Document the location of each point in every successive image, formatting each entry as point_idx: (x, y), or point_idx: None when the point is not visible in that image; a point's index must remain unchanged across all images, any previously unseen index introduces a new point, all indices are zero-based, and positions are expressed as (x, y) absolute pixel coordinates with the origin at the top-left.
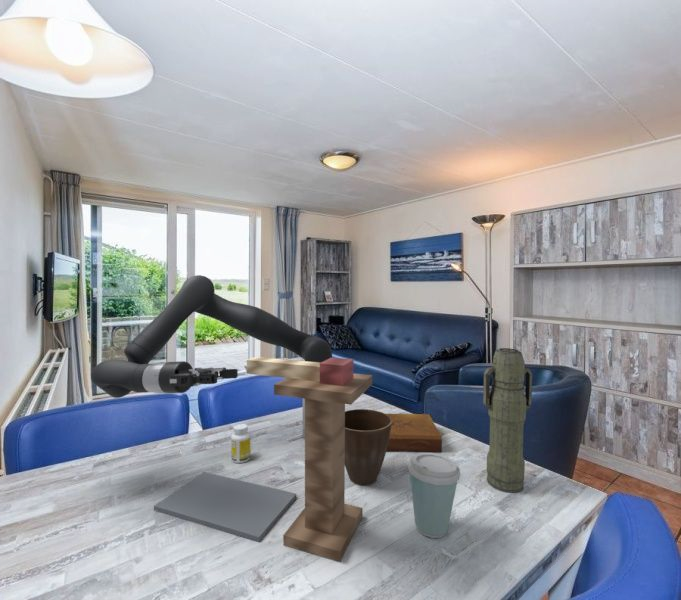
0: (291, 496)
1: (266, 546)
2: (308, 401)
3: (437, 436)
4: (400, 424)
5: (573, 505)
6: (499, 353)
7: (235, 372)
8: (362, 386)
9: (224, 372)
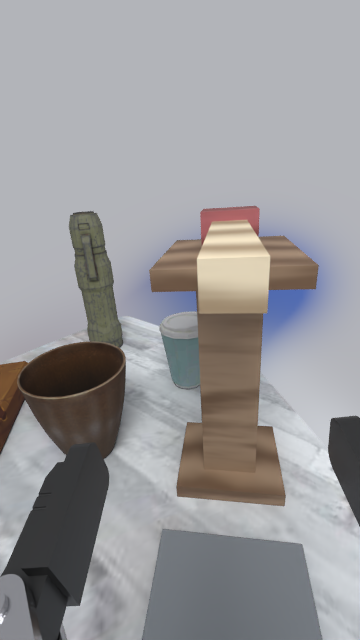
0: (173, 535)
1: (301, 531)
2: None
3: (24, 364)
4: None
5: (136, 323)
6: (88, 215)
7: (98, 455)
8: None
9: (65, 557)
